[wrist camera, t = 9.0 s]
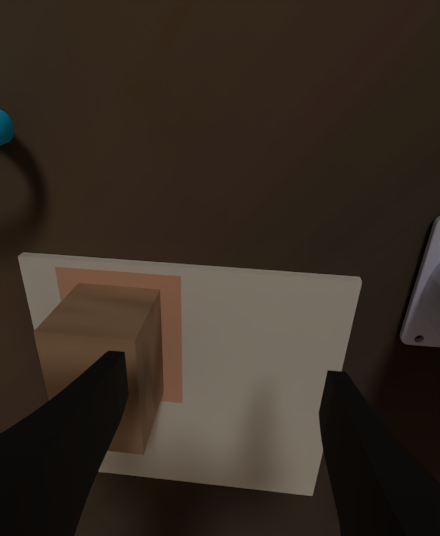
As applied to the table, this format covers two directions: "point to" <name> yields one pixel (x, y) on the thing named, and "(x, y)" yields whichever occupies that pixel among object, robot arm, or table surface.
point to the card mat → (224, 365)
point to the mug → (5, 128)
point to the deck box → (108, 338)
